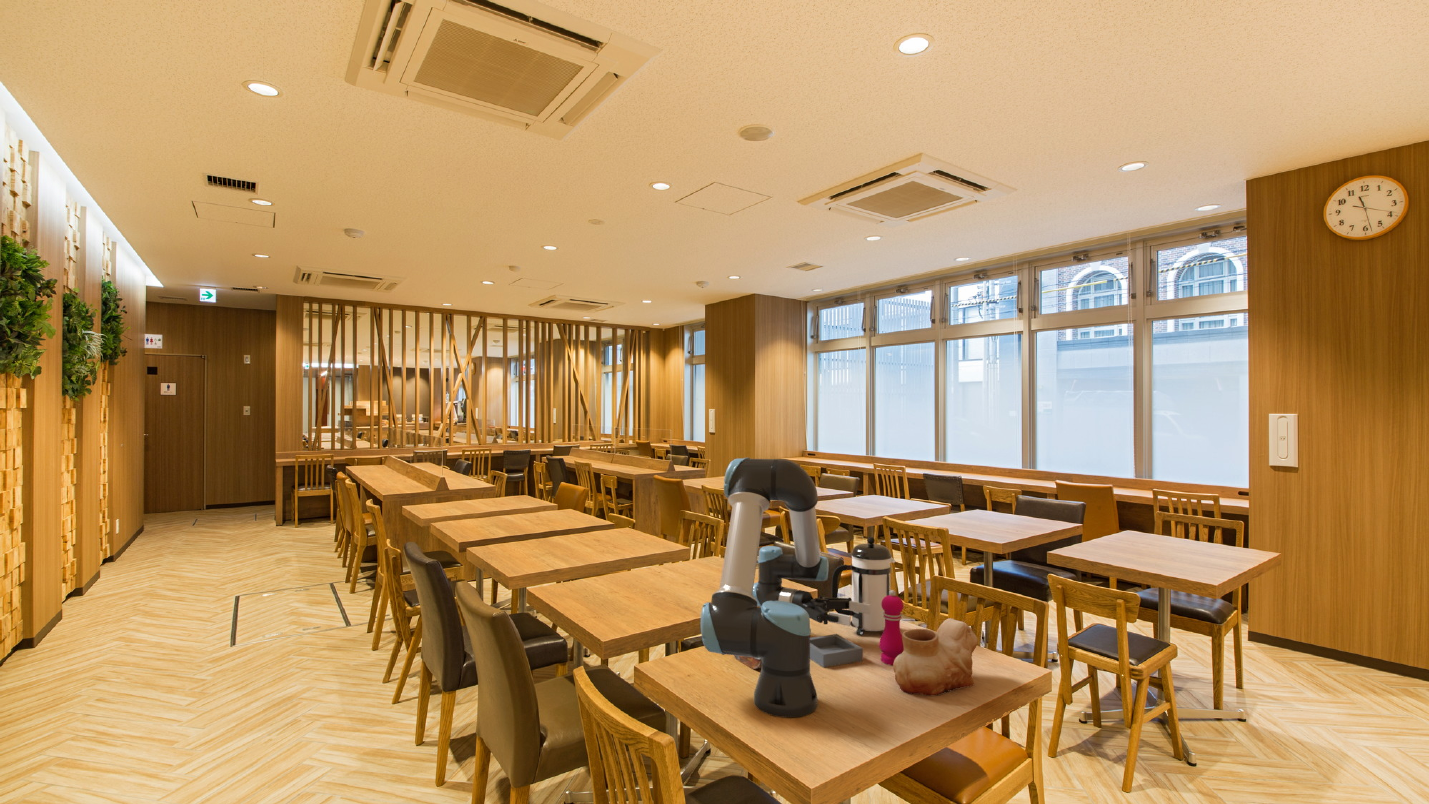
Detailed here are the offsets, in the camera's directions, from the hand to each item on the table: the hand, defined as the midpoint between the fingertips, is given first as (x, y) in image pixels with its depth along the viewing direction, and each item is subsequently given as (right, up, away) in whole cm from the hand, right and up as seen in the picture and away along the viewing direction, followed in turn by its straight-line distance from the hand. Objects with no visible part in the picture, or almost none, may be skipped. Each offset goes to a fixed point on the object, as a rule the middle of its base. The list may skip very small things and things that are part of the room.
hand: (860, 615), depth 191 cm
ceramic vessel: (+16, -11, -20) cm, 28 cm away
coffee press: (+7, -12, +20) cm, 24 cm away
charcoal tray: (-9, -11, -2) cm, 14 cm away
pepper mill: (+8, -11, -6) cm, 15 cm away
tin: (-33, -11, -8) cm, 36 cm away
